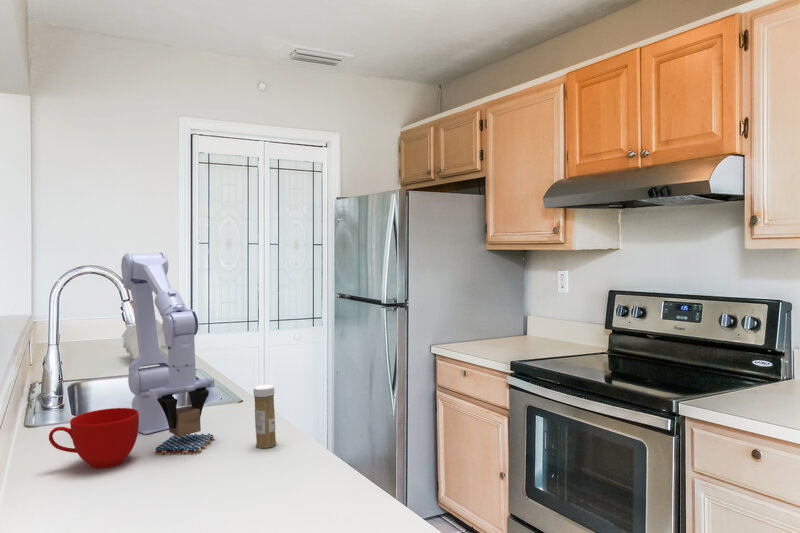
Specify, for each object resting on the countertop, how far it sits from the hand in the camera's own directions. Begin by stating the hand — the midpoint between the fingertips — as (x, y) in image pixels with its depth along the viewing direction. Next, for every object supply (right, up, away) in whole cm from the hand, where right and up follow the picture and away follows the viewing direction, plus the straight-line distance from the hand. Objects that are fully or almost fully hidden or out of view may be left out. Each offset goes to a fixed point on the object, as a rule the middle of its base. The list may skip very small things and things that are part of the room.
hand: (184, 424), depth 135 cm
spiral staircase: (-54, -3, +111) cm, 123 cm away
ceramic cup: (-15, -6, -10) cm, 19 cm away
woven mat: (0, -6, 0) cm, 6 cm away
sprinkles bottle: (+19, -5, -1) cm, 19 cm away
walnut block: (0, -2, 0) cm, 2 cm away
